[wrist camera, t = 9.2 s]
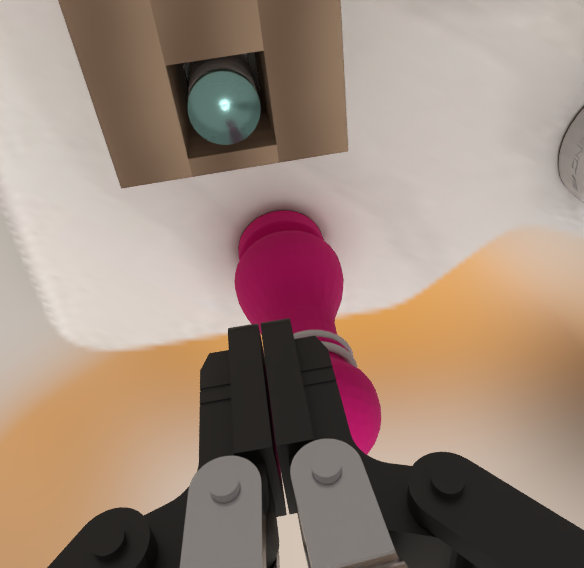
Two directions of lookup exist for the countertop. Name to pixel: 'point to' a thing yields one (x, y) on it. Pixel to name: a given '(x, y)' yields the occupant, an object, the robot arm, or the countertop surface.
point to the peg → (223, 99)
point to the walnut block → (200, 46)
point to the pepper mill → (304, 303)
